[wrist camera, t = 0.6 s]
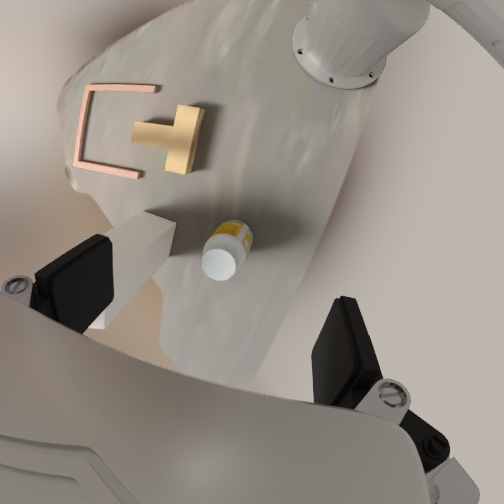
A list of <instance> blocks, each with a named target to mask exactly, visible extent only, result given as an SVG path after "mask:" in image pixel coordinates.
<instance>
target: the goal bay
mask: <svg viewBox="0 0 504 504" xmlns="http://www.w3.org/2000/svg"><path fill="white" fill-rule="evenodd" d="M92 91H129V92H147V93H156V91H157V86H148V85H121V84H102V85H86V88H85V92H84V97H83V102H82V107H81V112H80V118H79V124H78V131H77V138H76V146H75V155H74V165H73V167H79V168H84V169H89V170H94V171H100V172H105V173H109V174H114V175H119V176H124V177H129V178H133V179H139V178H140V172H138V171H133V170H128V169H123V168H118V167H113V166H107V165H102V164H97V163H91V162H85V161H81V154H82V146H83V138H84V131H85V125H86V119H87V113H88V108H89V103H90V98H91V93H92Z"/></svg>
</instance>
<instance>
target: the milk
mask: <svg viewBox="0 0 504 504" xmlns="http://www.w3.org/2000/svg"><path fill="white" fill-rule="evenodd" d="M176 224H177V223H175V222H173V221H170V220H167V219H165V218H162V217H159V216H156V215H154V214H151V213H148V212H145V211H142V212H140V213H138V214H136V215H134V216H133V217H131V218H129V219H128V220H126V221H124V222H122V223H121V224H119V225H117V226H116V227H114V228H112V229H111V230H109V231H107V232H106V233H104V234H103V235H104V236H107V237H109V238H110V241H111V242H112V244H113V279H114V299H113V301H112V302H111V303H110V305H109V306H108V307H107V308H106V309H105V310H104V311H103V312H102V313H101V314H100V315H99V316H98V317H97V318H96V319H95V321H94V322H93V323H92V324H91V325H90V326H89V327H88V328H96V329H105V328H106V327H107V326H108V325H109V324H110V322H111V321H112V320H113V319H114V318H115V317H116V315H117V314H118V313H119V312H120V311H121V310H122V308H123V307H124V306H125V305H126V304H127V302H128V301H129V300H130V299H131V298H132V297H133V296H134V295H135V294H136V292H137V291H138V290H139V289H140V288H141V287H142V286H143V285H144V283H145V282H146V281H147V280H148V279H149V278H150V277H151V276H152V275H153V274H154V273H155V271H156V270H157V269H158V268H159V267H160V266H161V265H162V264H163V263H164V262H165V261H166V260H167V258H168V257H169V255H170V250H171V245H172V241H173V237H174V232H175V228H176Z"/></svg>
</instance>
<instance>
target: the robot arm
mask: <svg viewBox="0 0 504 504" xmlns="http://www.w3.org/2000/svg"><path fill="white" fill-rule="evenodd" d="M430 4H432V5H433V6H434V7H436V8H438V9H440V10H442V11H443V12H444V13H445V14H446V15H448V16H449V17H450V18H451V19H453V20H454V21H455V22H456V23H457V24H459V25H460V26H461V27H462V28H463V29H464V30H465V31H467V32H468V33H469V34H470V35H471V36H472V37H473V38H474V39H475V40H476V41H477V42H478V43H479V44H480V45H481V46H483V47H484V48H485V50H486V51H487V52H488V53H489V54H491V56H492V57H493V58H494V59H495V60H496V61H497V62H498V63H499V64H500V65H501V67H503V69H504V0H311V2H310V8H309V14H308V15H306V16H305V17H304V18H302V19H301V20H300V21H299V23H298V24H297V25H296V27H295V30H294V32H293V38H292V46H293V51H294V54H295V57H296V59H297V61H298V63H299V64H300V66H301V67H302V68H303V69H304V70H305V71H306V72H307V74H309V75H310V76H311V77H313V78H314V79H315V80H317V81H319V82H321V83H323V84H325V85H328V86H330V87H334V88H338V89H357V88H361V87H364V86H366V85H368V84H370V83H372V82H373V81H375V80H376V79H377V78H378V77H379V76H380V74H381V73H382V71H383V69H384V67H385V63H386V56H387V55H388V54H389V53H390V52H392V51H393V50H394V49H396V48H397V47H398V46H399V45H401V44H402V43H403V42H405V41H406V40H407V39H408V38H410V37H411V36H412V35H414V34H415V33H416V32H417V31H419V30H420V29H421V28H422V27H423V25H424V24H425V22H426V20H427V19H428V16H429V11H430ZM299 52H302V54H299ZM369 75H371V77H369ZM330 80H333V83H331V82H330ZM35 279H36V282H35V283H33V281H32V280H31V278H29V277H27V276H21V275H19V276H14V277H11V278H9V279H8V280H6V281H5V282H4V283H3V285H2V287H1V291H0V504H477V503H478V501H479V497H480V493H479V489H478V487H477V485H476V484H475V483H474V481H473V480H472V479H471V478H470V476H469V475H468V474H467V473H466V471H465V470H464V469H463V468H462V466H461V465H460V464H459V463H458V461H457V460H456V459H455V458H454V457H453V458H452V459H450V458H449V454H450V446H449V442H448V440H447V439H446V438H445V436H444V435H443V434H442V433H440V432H439V431H438V430H436V429H435V428H433V427H432V426H431V425H429V424H428V423H427V422H425V421H424V420H422V419H421V418H420V417H418V416H417V415H416V414H414V413H413V412H412V411H410V410H409V409H408V408H409V406H410V403H411V398H410V395H409V392H408V390H407V389H406V388H405V387H404V386H403V385H402V384H401V383H399V382H397V381H395V380H392V379H383V376H382V373H381V370H380V367H379V363H378V360H377V357H376V354H375V351H374V348H373V345H372V342H371V339H370V336H369V335H368V332H367V329H366V326H365V323H364V321H363V317H362V315H361V312H360V309H359V307H358V304H357V301H356V299H355V298H350V297H346V296H341V297H340V298H339V299H338V298H336V299H335V300H334V302H333V305H332V307H331V310H330V312H329V314H328V316H327V319H326V321H325V323H324V326H323V328H322V330H321V332H320V334H319V337H318V339H317V341H316V343H315V345H314V347H313V350H312V356H311V358H312V372H313V393H314V403H310V402H305V401H299V400H292V399H286V398H280V397H275V396H271V395H266V394H261V393H256V392H251V391H247V390H242V389H238V388H234V387H230V386H226V385H222V384H218V383H214V382H211V381H207V380H204V379H200V378H197V377H193V376H190V375H187V374H183V373H180V372H177V371H174V370H171V369H168V368H165V367H162V366H159V365H156V364H153V363H151V362H148V361H145V360H142V359H139V358H137V357H134V356H131V355H129V354H127V353H124V352H122V351H119V350H117V349H114V348H112V347H110V346H107V345H105V344H103V343H100V342H98V341H96V340H93V339H91V338H89V337H87V336H85V335H83V333H84V331H85V330H86V329H87V328H88V327H89V326H90V325H91V324H92V323H93V322H94V321H95V319H96V318H97V317H98V316H99V315H100V314H101V313H102V312H103V311H104V310H105V309H106V308H107V307H108V306H109V305H110V303H111V302H112V301H113V299H114V279H113V244H112V242H111V241H110V238H109V237H107V236H104V235H100V234H96V235H94V236H92V237H90V238H89V239H87V240H85V241H84V242H82V243H81V244H79V245H78V246H76V247H74V248H72V249H71V250H69V251H68V252H66V253H65V254H63V255H61V256H60V257H59V258H57V259H55V260H54V261H52V262H51V263H49V264H48V265H46V266H45V267H43V268H42V269H41V270H39V271H38V272H36V273H35Z"/></svg>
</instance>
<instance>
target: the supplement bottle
mask: <svg viewBox="0 0 504 504" xmlns="http://www.w3.org/2000/svg"><path fill="white" fill-rule="evenodd" d="M252 242H253V235H252V232H251V230H250V228H249V227H248V226H247V225H246V224H245V223H243V222H242V221H238V220H228V221H225V222H223V223H222V224H221V225H220V226H219V227H218V228H217V229H216V231H215V232H214V233H213V234H212V236H211V237H210V238H209V239H208V241H207V242H206V244H205V246H204V249H203V258H202V268H203V270H204V272H205V273H206V275H207V276H209V277H210V278H212V279H214V280H218V281H223V280H227V279H229V278H231V277H232V276H233V275H234V274H235V273H237V272H238V271H240V270H241V269H242V267H243V266H244V264H245V262H246V259H247V256H248V254H249V251H250V248H251V246H252Z"/></svg>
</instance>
